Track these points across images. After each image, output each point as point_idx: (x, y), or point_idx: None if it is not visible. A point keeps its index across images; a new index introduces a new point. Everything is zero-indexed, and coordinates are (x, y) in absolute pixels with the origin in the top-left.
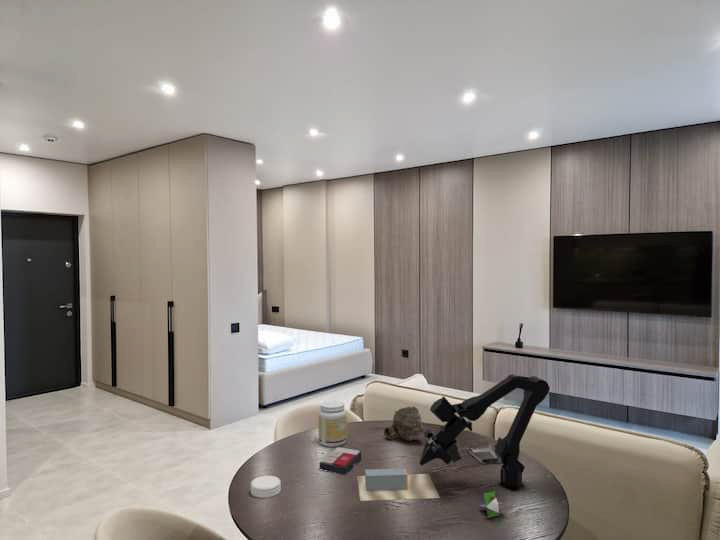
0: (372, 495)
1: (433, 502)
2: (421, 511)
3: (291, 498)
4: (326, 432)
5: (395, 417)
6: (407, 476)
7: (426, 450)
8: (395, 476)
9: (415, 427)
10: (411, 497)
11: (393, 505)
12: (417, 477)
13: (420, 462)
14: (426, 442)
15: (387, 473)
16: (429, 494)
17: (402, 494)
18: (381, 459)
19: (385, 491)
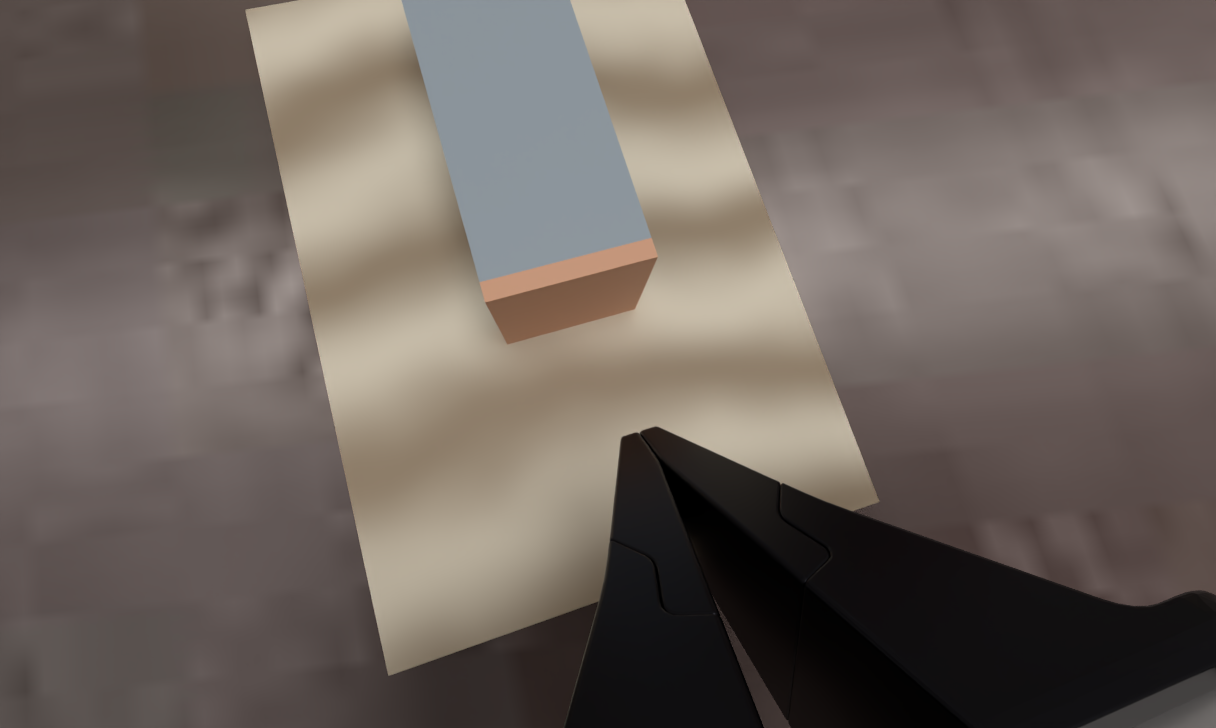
0: (346, 82)
1: (362, 600)
2: (178, 506)
3: None
4: None
5: None
6: (489, 308)
7: (619, 654)
8: (452, 178)
9: None
10: (356, 395)
11: (263, 264)
12: (771, 406)
13: (619, 450)
14: (1066, 675)
15: (473, 83)
16: (443, 558)
17: (404, 311)
18: (1049, 81)
19: (435, 169)
